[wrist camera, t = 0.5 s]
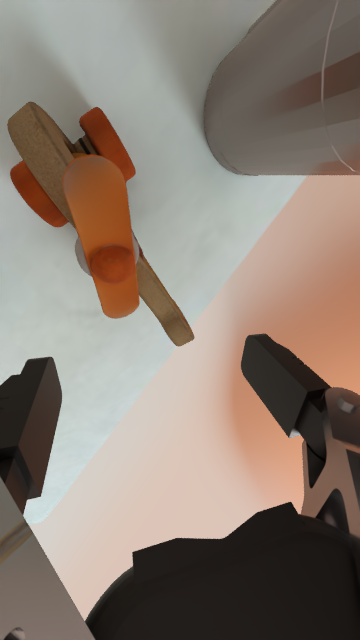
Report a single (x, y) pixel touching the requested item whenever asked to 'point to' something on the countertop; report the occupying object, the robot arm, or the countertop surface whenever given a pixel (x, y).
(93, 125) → the toy helicopter
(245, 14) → the countertop surface
